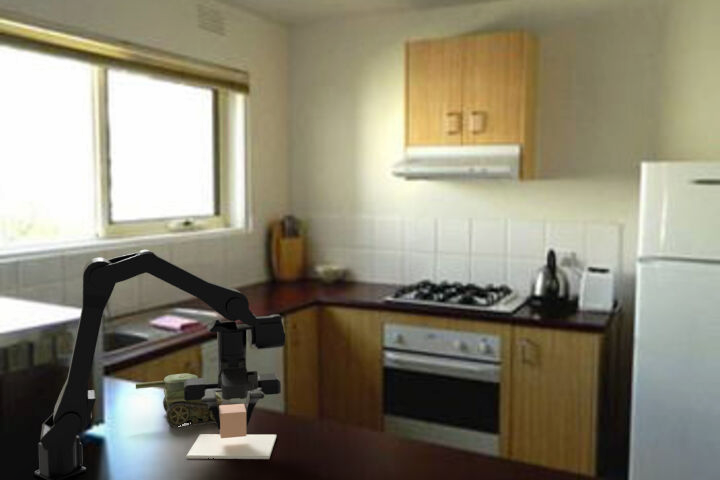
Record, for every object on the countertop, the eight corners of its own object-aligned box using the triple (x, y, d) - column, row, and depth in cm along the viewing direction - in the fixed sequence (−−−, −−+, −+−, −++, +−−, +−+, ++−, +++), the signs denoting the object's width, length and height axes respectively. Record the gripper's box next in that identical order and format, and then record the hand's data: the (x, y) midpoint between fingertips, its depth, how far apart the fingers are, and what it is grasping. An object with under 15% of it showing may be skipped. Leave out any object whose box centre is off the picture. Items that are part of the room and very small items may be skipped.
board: (186, 458, 131) (186, 455, 130) (200, 436, 141) (200, 434, 141) (269, 458, 130) (269, 455, 130) (276, 437, 141) (276, 434, 141)
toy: (135, 417, 153) (134, 374, 153) (217, 408, 160) (216, 366, 159) (138, 432, 144) (136, 387, 143) (224, 422, 151) (224, 378, 150)
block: (220, 438, 133) (220, 413, 132) (219, 429, 137) (219, 405, 137) (246, 436, 134) (246, 411, 134) (244, 427, 139) (244, 403, 138)
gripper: (183, 365, 124) (185, 447, 125) (284, 359, 129) (284, 438, 130) (183, 350, 135) (184, 426, 136) (276, 345, 140) (276, 419, 141)
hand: (232, 428), depth 136 cm, fingers closed on block, 5 cm apart
